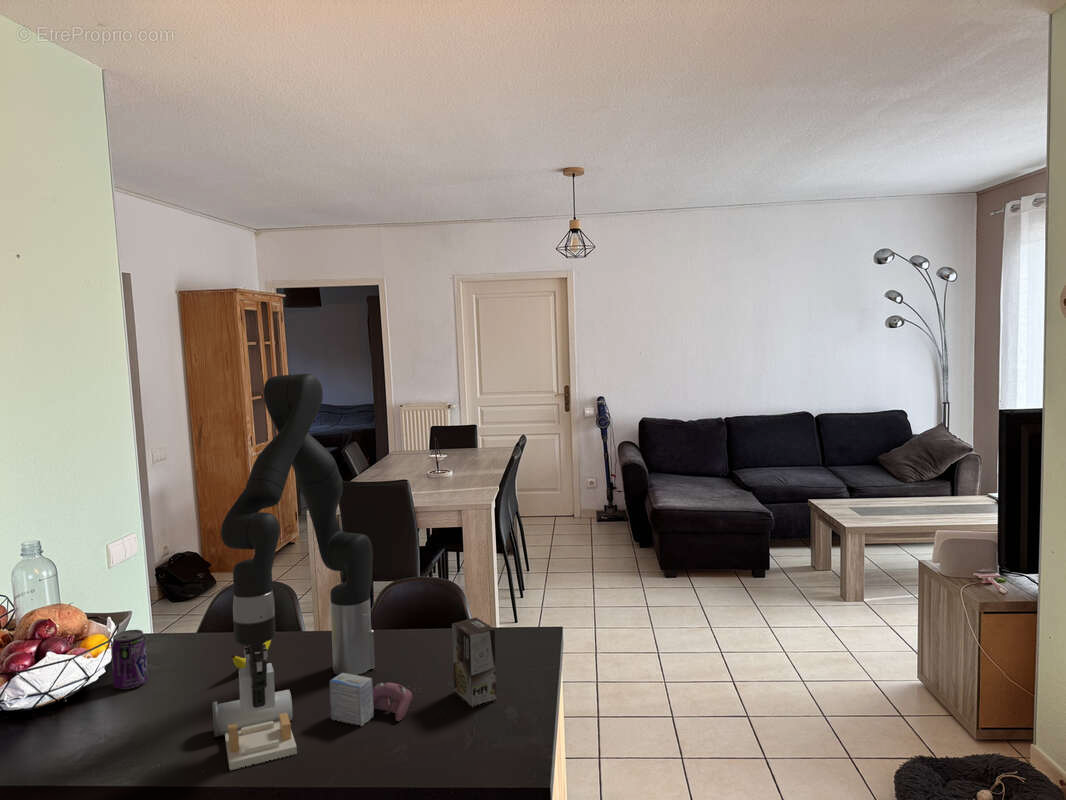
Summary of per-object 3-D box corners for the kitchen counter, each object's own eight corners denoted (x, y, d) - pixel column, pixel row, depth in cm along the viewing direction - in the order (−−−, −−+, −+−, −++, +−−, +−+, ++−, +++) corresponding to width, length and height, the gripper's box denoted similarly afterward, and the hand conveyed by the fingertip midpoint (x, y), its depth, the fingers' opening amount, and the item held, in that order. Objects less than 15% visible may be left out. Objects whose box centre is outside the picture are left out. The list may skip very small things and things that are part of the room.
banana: (278, 649, 193) (277, 625, 193) (239, 682, 175) (238, 655, 174) (268, 648, 194) (267, 624, 193) (228, 681, 175) (226, 655, 174)
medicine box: (374, 717, 157) (373, 677, 156) (361, 727, 153) (360, 686, 152) (343, 710, 160) (342, 671, 159) (330, 720, 156) (328, 680, 155)
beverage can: (133, 692, 170) (130, 641, 169) (106, 690, 171) (103, 639, 170) (154, 679, 177) (152, 629, 176) (128, 676, 178) (125, 627, 177)
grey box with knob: (272, 697, 149) (270, 654, 148) (275, 706, 145) (273, 663, 144) (240, 703, 146) (238, 660, 145) (242, 713, 142) (240, 669, 141)
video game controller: (410, 722, 158) (417, 687, 160) (398, 722, 154) (406, 686, 156) (372, 713, 162) (380, 679, 164) (359, 712, 158) (368, 678, 160)
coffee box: (497, 700, 163) (496, 628, 162) (471, 708, 160) (469, 635, 159) (478, 684, 171) (476, 616, 170) (452, 692, 168) (451, 622, 167)
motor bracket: (288, 711, 160) (287, 681, 160) (302, 752, 144) (301, 719, 143) (213, 727, 154) (212, 696, 153) (219, 773, 137) (217, 738, 137)
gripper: (279, 623, 139) (282, 712, 140) (270, 600, 152) (273, 682, 153) (236, 630, 136) (240, 721, 137) (230, 606, 149) (234, 689, 150)
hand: (257, 700), depth 145 cm, fingers closed on grey box with knob, 4 cm apart
